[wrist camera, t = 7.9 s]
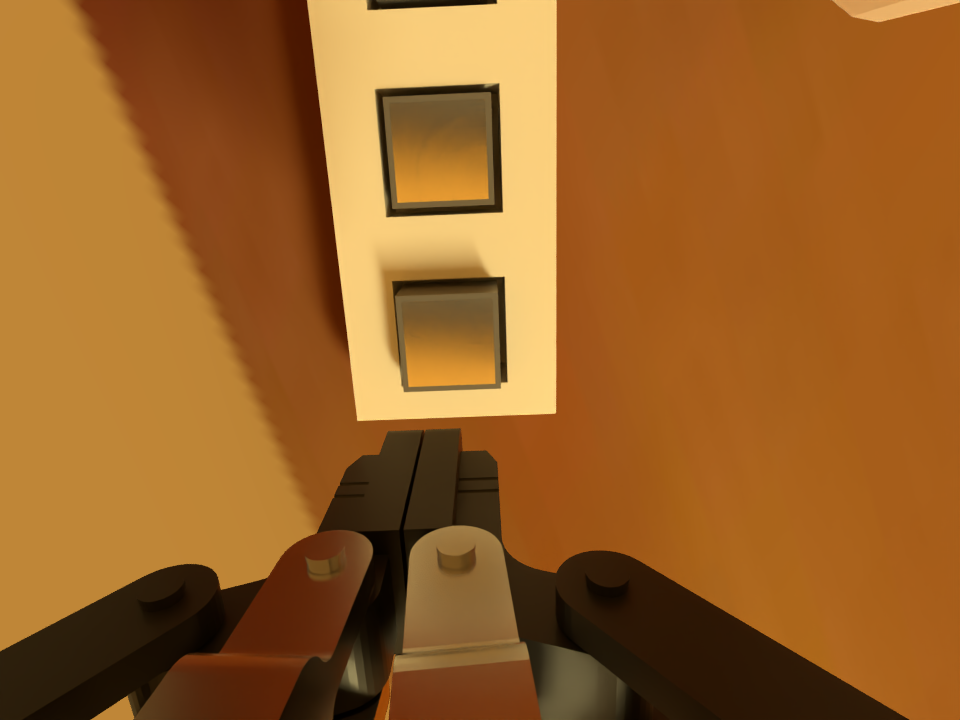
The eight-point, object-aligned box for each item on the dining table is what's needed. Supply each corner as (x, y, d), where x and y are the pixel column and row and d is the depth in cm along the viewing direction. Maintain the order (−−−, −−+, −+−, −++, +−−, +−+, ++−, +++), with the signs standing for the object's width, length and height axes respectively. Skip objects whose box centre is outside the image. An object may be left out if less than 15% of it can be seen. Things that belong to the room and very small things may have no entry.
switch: (404, 283, 22) (395, 296, 20) (496, 280, 22) (498, 292, 20) (411, 370, 23) (403, 392, 21) (499, 367, 23) (501, 388, 21)
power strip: (300, -319, 19) (253, -445, 15) (541, -333, 18) (557, -466, 15) (375, 385, 26) (357, 420, 23) (545, 378, 26) (555, 413, 22)
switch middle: (393, 105, 21) (382, 96, 19) (489, 101, 21) (490, 92, 19) (401, 205, 22) (392, 208, 20) (493, 201, 22) (494, 204, 20)
